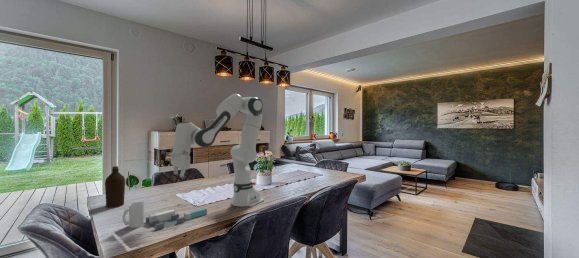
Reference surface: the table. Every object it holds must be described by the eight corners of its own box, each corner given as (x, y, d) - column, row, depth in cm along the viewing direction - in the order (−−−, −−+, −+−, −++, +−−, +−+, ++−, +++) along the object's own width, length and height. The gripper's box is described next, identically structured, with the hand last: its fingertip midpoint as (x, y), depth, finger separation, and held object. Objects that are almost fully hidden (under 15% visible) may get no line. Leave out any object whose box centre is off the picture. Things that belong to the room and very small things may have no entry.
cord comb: (172, 216, 139) (172, 210, 139) (184, 223, 130) (184, 217, 130) (145, 224, 129) (145, 217, 129) (156, 232, 119) (156, 225, 119)
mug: (139, 223, 129) (139, 201, 129) (147, 226, 126) (147, 203, 126) (118, 230, 121) (119, 206, 120) (126, 233, 117) (126, 208, 117)
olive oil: (128, 204, 159) (128, 166, 158) (109, 209, 149) (109, 168, 149) (120, 201, 164) (120, 164, 164) (101, 206, 155) (101, 166, 154)
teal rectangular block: (204, 214, 144) (204, 207, 144) (206, 215, 142) (206, 208, 142) (183, 220, 134) (183, 213, 134) (186, 221, 132) (186, 214, 132)
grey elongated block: (172, 216, 137) (172, 209, 137) (175, 218, 135) (175, 210, 135) (149, 222, 128) (149, 215, 128) (151, 224, 126) (151, 216, 126)
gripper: (194, 152, 130) (191, 178, 129) (181, 149, 145) (178, 172, 144) (182, 151, 126) (179, 178, 125) (169, 148, 141) (166, 172, 140)
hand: (178, 175), depth 135 cm, fingers open, 8 cm apart
